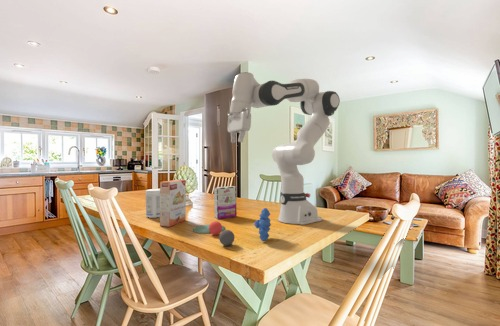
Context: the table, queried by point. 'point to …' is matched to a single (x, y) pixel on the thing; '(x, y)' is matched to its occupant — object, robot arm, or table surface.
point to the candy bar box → (225, 202)
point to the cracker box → (172, 202)
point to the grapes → (263, 224)
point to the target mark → (204, 229)
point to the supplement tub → (153, 203)
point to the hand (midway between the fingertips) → (236, 142)
